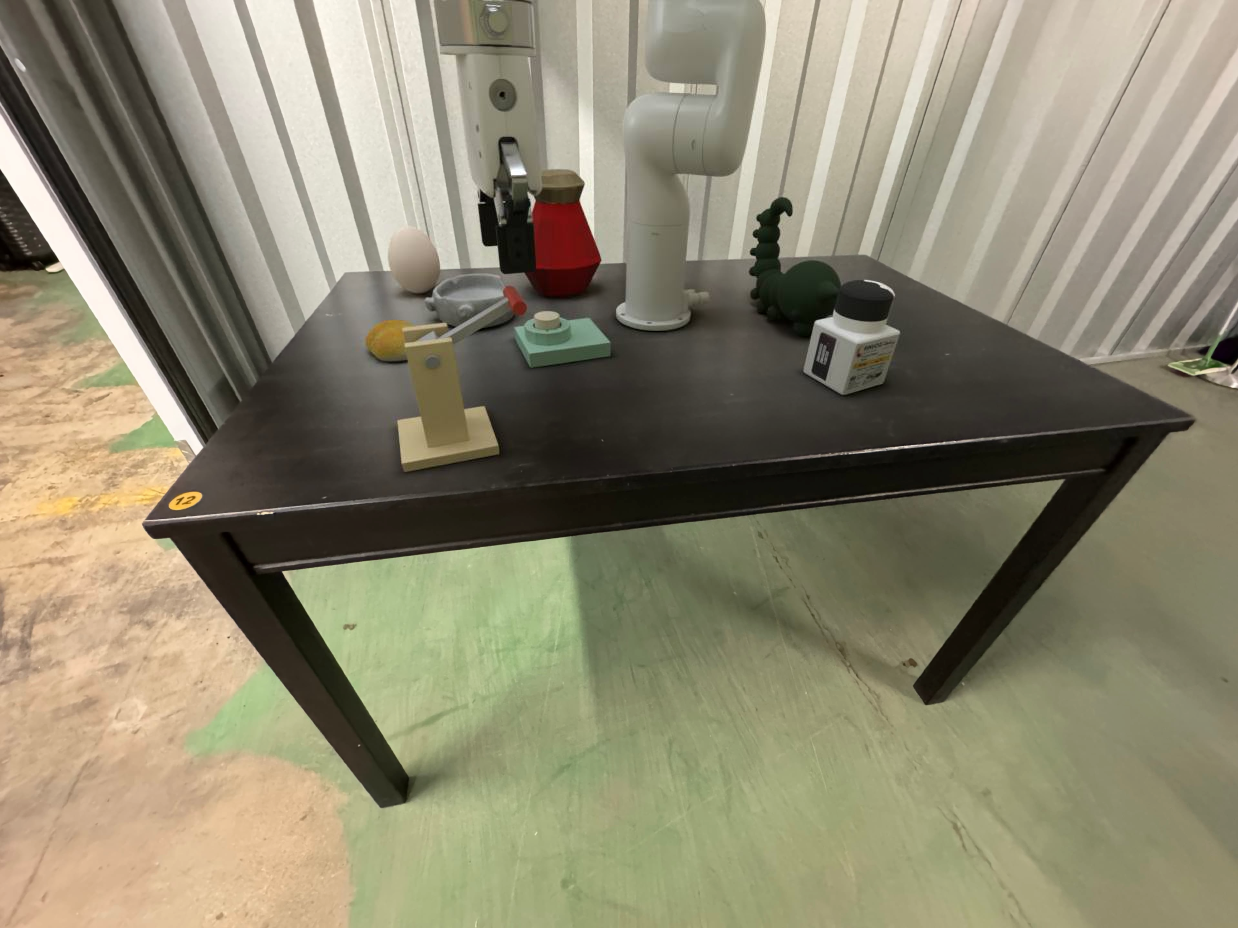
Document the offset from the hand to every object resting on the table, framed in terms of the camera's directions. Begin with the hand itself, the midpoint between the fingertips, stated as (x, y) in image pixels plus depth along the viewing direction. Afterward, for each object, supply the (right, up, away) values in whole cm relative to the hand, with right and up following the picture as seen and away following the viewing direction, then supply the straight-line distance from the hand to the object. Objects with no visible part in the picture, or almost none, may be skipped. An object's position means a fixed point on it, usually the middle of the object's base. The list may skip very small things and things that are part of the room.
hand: (507, 257), depth 53 cm
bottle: (0, +13, +51) cm, 52 cm away
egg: (-26, +12, +49) cm, 56 cm away
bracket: (-9, -17, +9) cm, 21 cm away
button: (0, 0, +27) cm, 27 cm away
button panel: (+2, -3, +30) cm, 30 cm away
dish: (-13, +5, +40) cm, 42 cm away
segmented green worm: (+39, +4, +40) cm, 56 cm away
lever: (-4, -7, +3) cm, 9 cm away
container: (+42, -8, +23) cm, 48 cm away
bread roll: (-22, -3, +28) cm, 36 cm away
